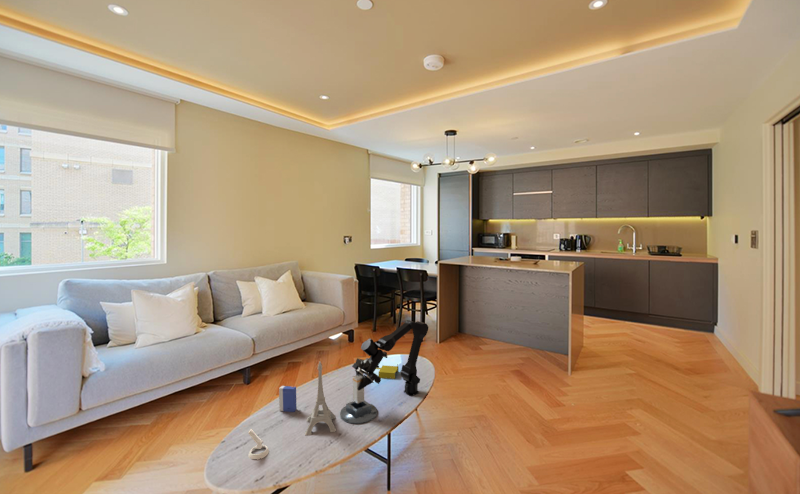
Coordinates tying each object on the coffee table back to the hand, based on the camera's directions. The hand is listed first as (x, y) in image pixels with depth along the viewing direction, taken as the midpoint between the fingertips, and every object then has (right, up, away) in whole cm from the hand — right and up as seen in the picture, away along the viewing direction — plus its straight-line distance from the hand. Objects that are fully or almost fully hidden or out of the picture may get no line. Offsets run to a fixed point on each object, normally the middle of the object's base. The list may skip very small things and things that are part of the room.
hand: (356, 388), depth 164 cm
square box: (+1, -7, +1) cm, 7 cm away
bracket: (+13, -12, +47) cm, 50 cm away
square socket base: (+1, -13, +1) cm, 13 cm away
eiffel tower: (-15, -14, -8) cm, 22 cm away
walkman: (-35, -13, +5) cm, 38 cm away
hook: (-36, -15, -28) cm, 48 cm away
